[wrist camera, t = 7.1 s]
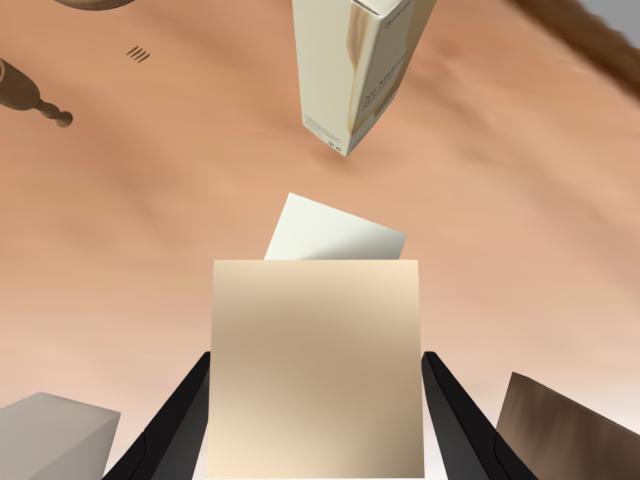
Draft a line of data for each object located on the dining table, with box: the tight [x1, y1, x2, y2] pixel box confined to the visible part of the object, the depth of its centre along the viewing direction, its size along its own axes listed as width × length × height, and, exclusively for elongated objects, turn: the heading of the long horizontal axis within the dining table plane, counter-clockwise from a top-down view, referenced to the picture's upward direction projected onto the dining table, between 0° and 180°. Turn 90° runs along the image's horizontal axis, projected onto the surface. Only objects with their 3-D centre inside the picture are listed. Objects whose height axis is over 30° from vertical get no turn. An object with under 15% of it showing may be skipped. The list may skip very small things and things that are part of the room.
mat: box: [264, 192, 407, 260], centre depth 21 cm, size 9×9×1 cm
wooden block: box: [206, 260, 425, 479], centre depth 14 cm, size 5×5×14 cm
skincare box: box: [292, 0, 437, 156], centre depth 17 cm, size 6×4×12 cm
